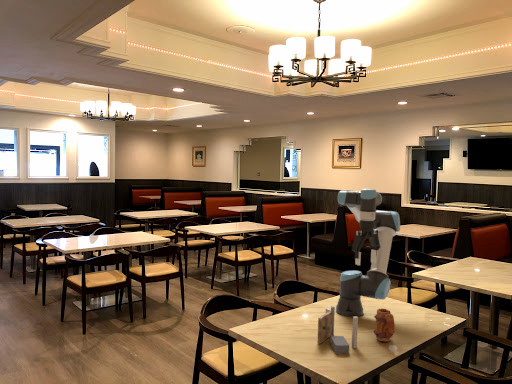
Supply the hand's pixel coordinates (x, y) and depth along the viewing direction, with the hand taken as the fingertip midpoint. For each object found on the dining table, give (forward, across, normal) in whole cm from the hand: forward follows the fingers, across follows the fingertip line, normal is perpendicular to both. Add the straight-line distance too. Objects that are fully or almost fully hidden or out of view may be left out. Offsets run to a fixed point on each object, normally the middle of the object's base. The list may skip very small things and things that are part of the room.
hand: (365, 263), depth 208 cm
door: (+33, -26, -2) cm, 42 cm away
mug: (+34, -2, -16) cm, 38 cm away
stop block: (+34, -26, -11) cm, 44 cm away
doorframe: (+34, -19, -4) cm, 39 cm away
